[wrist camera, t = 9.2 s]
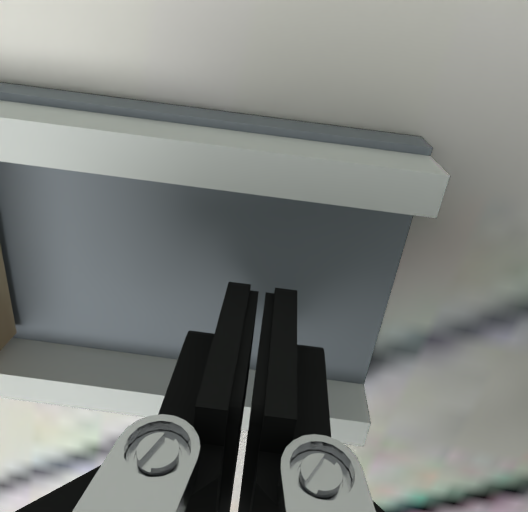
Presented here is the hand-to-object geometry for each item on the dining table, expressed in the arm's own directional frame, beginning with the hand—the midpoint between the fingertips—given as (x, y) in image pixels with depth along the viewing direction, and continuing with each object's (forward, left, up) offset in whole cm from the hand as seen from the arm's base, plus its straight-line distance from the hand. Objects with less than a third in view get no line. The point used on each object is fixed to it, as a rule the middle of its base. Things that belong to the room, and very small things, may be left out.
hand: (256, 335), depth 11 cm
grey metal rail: (+9, 0, -4) cm, 9 cm away
